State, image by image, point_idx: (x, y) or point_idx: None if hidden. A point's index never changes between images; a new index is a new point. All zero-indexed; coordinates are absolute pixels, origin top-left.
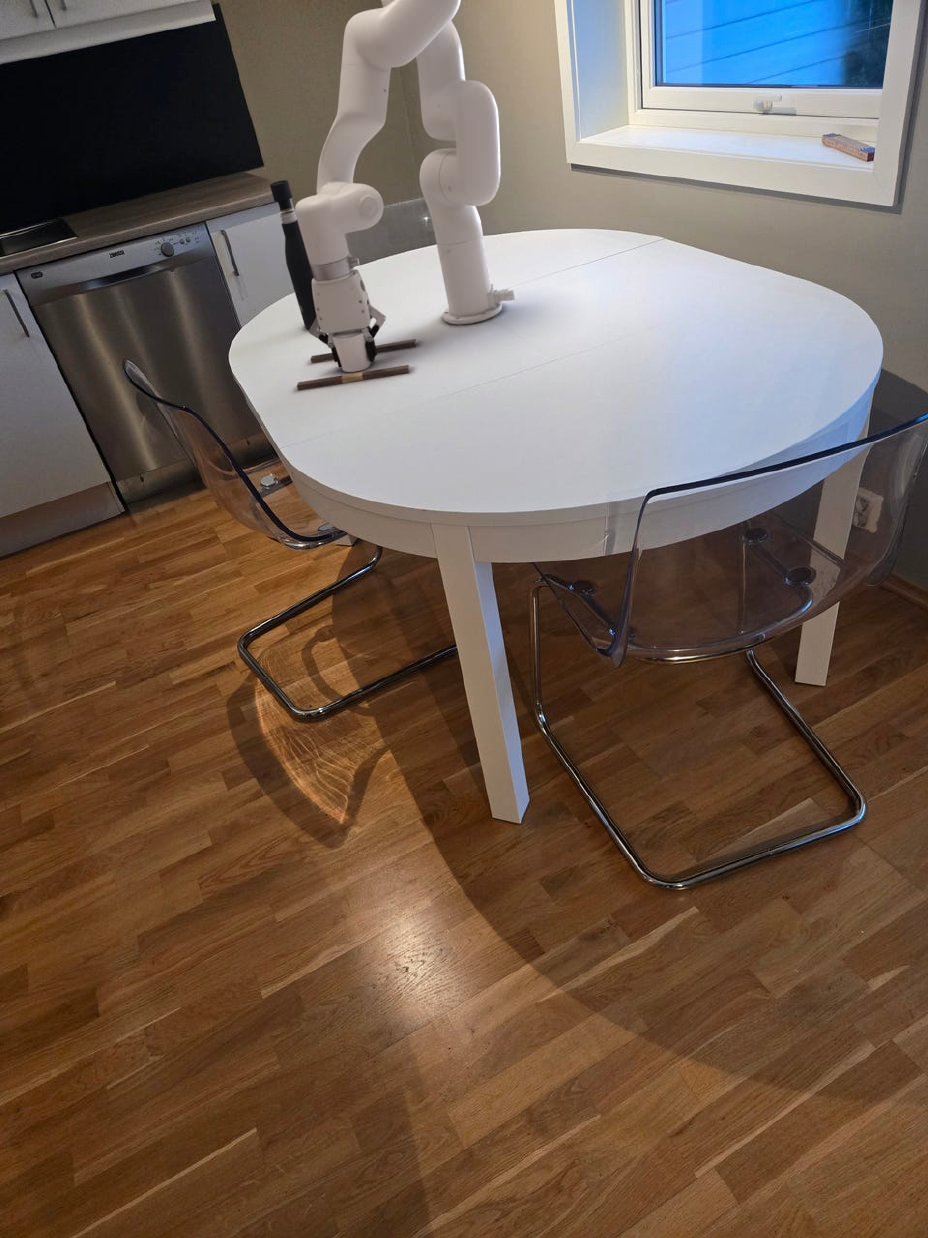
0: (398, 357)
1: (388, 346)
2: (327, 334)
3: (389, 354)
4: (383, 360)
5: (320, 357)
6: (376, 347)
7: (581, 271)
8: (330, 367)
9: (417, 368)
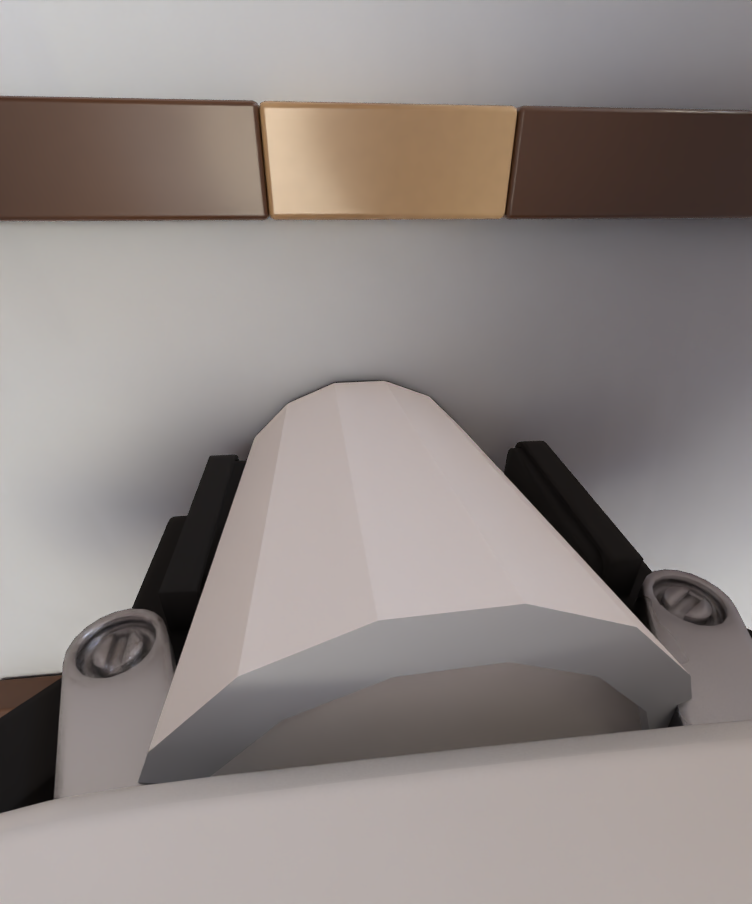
0: (695, 416)
1: (691, 217)
2: (20, 802)
3: (642, 318)
4: (577, 433)
5: None
6: (563, 203)
7: None
8: (92, 422)
9: (748, 611)
